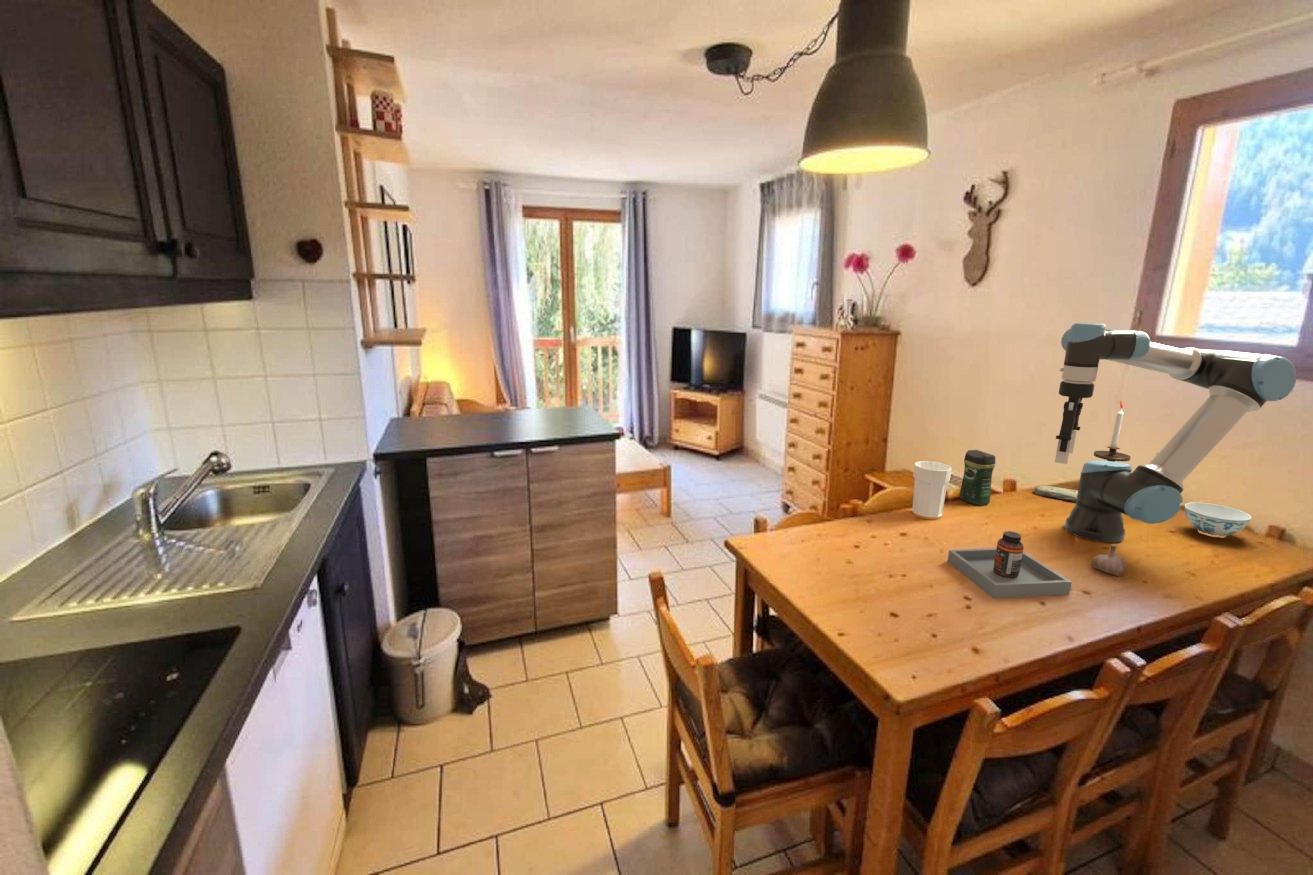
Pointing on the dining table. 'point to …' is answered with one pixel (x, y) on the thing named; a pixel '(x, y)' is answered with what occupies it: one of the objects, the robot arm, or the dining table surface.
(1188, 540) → the dining table surface
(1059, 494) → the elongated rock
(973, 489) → the coffee jar
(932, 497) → the cup
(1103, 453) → the candlestick
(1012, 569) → the supplement bottle
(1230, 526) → the chinaware
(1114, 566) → the garlic bulb
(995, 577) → the tray
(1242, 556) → the dining table surface
